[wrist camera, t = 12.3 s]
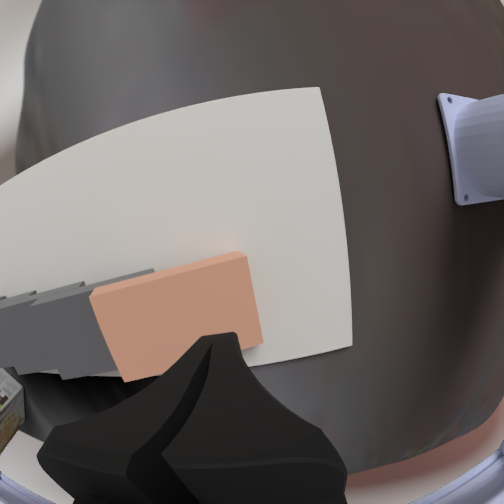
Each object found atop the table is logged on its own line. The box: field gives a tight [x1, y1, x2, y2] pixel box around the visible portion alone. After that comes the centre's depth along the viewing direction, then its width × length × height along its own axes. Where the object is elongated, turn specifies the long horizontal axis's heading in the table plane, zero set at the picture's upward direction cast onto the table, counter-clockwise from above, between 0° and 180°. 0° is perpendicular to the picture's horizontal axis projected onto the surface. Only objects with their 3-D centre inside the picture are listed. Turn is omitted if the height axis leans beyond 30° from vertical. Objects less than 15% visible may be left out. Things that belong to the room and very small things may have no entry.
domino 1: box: [0, 290, 37, 368], centre depth 14 cm, size 2×5×8 cm
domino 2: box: [0, 281, 85, 375], centre depth 14 cm, size 2×5×8 cm
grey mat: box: [0, 87, 352, 376], centre depth 15 cm, size 28×16×1 cm, turn 100°
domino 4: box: [89, 251, 264, 382], centre depth 14 cm, size 2×5×8 cm
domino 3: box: [29, 268, 154, 380], centre depth 14 cm, size 2×5×8 cm
